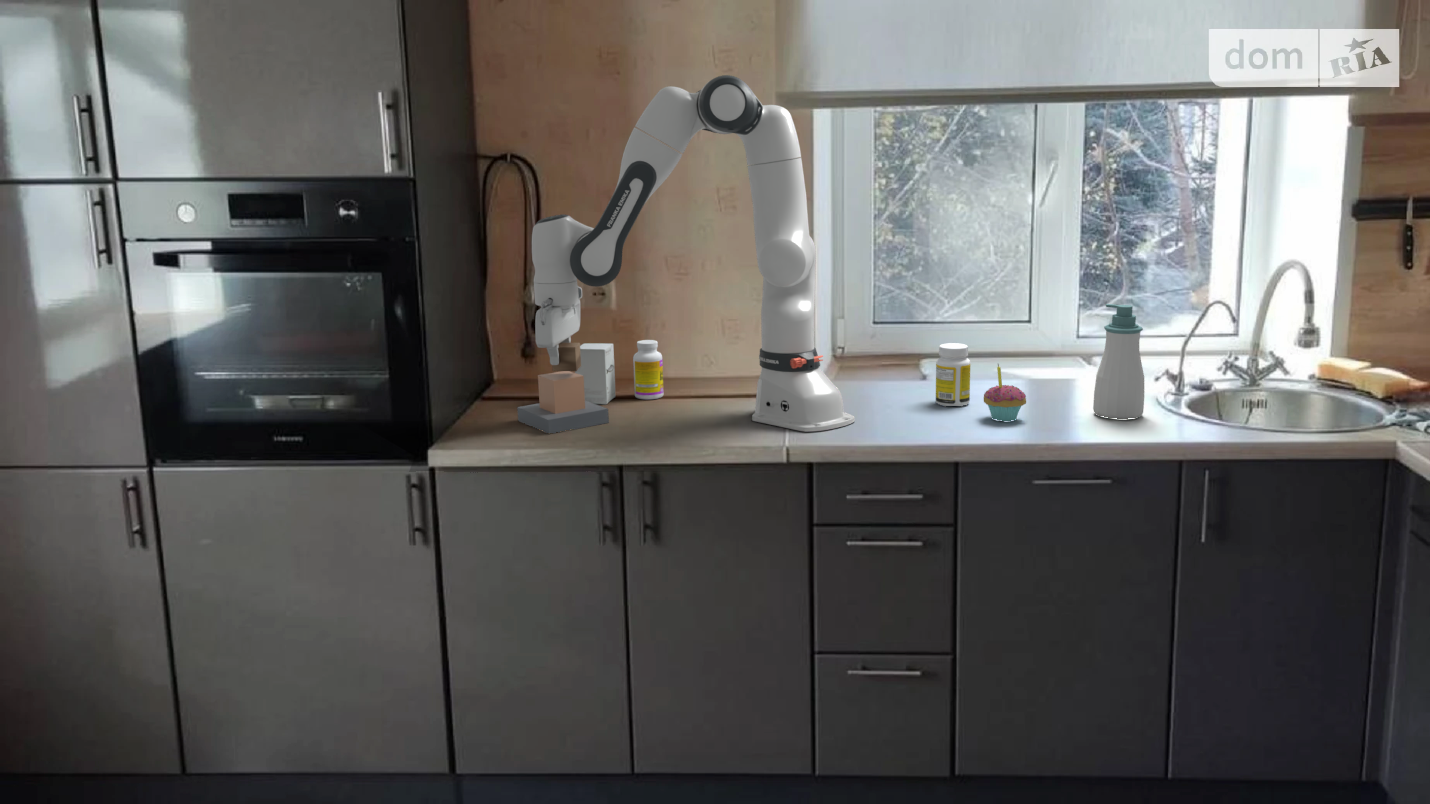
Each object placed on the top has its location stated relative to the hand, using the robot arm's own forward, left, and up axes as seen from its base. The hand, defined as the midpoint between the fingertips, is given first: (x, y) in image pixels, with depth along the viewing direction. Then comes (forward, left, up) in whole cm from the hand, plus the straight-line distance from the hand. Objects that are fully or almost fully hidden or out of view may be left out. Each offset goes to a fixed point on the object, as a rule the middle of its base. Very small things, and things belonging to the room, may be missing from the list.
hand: (560, 361), depth 238 cm
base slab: (0, 0, -13) cm, 13 cm away
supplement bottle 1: (+7, -26, -13) cm, 30 cm away
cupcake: (-58, -71, -13) cm, 93 cm away
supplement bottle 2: (-42, -73, -13) cm, 85 cm away
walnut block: (-1, -1, -2) cm, 2 cm away
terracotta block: (0, 0, -10) cm, 10 cm away
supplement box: (+12, -15, -13) cm, 23 cm away
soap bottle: (-71, -91, -13) cm, 116 cm away
